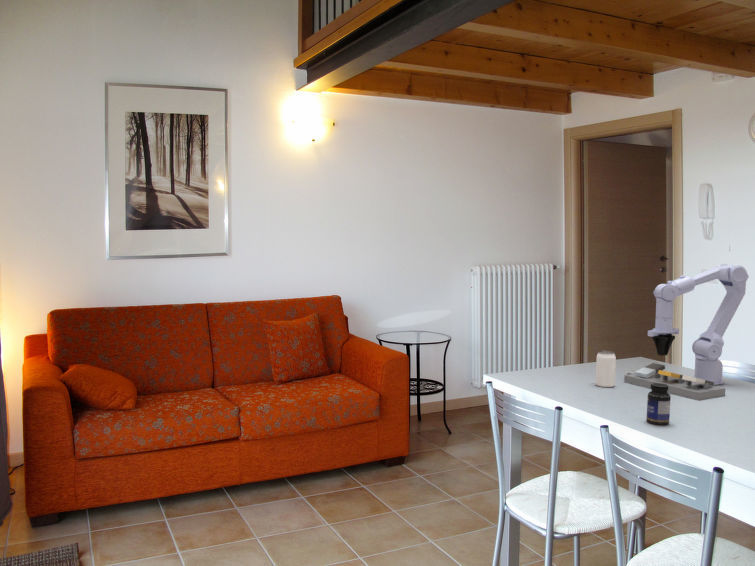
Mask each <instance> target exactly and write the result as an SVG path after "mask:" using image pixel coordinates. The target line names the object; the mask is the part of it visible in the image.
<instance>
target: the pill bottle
mask: <svg viewBox="0 0 755 566" xmlns="http://www.w3.org/2000/svg"><path fill="white" fill-rule="evenodd" d="M650 389H651V390H650V391H649V392H648V393H647V400H646V401H647V403H646V422H648V423H649V424H652V425H657V426H666V425H668V424H669V423H670V418H671V417H670V415H671V414H670V413H671V393H667V391H668V385H666V384H662V383H652V384H651V388H650Z"/></svg>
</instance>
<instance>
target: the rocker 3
mask: <svg viewBox="0 0 755 566" xmlns="http://www.w3.org/2000/svg"><path fill="white" fill-rule="evenodd" d="M682 375H683V377H682V379H684V380H688V381H692V382H697V383H701V384H706V383H709V385H710V386H715V385H714V382H711V381H707V380H703V379H699V378H694V377H693V376H689V375H684V374H682Z"/></svg>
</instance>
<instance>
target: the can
mask: <svg viewBox="0 0 755 566" xmlns="http://www.w3.org/2000/svg"><path fill="white" fill-rule="evenodd" d="M595 360H596V363H595V366H596V367H595V385H596V386H597V387H600V388H607V389H608V388H614V387H615V386H616V366H617V365H616V364H617V357H616V354H615V352H614V351H610V350H598V351H597V354H596V359H595Z"/></svg>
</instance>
